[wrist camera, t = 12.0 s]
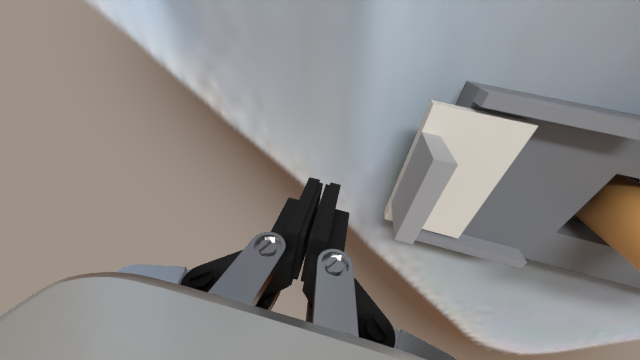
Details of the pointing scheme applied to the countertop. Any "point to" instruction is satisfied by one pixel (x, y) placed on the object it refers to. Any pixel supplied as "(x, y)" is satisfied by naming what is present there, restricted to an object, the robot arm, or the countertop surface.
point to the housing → (550, 186)
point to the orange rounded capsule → (616, 217)
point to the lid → (453, 169)
